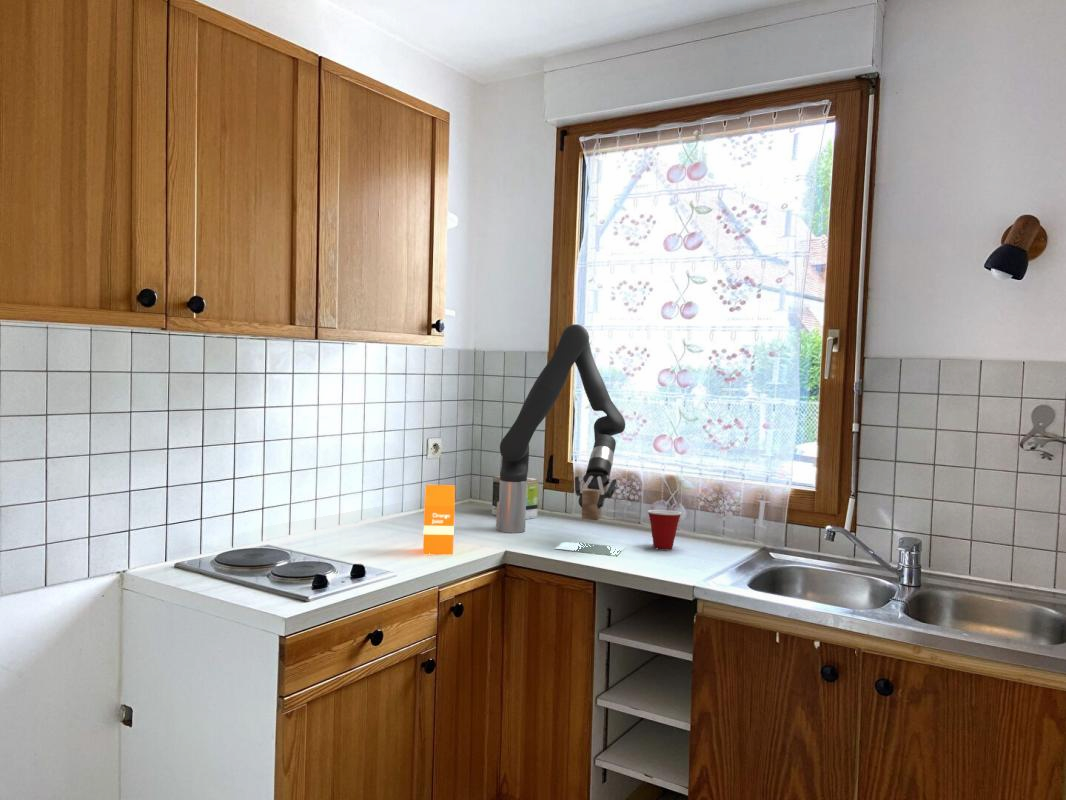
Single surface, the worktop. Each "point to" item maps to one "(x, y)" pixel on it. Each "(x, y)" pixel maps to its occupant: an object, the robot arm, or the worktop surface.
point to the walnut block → (590, 504)
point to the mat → (595, 549)
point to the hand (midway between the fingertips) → (590, 506)
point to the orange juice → (439, 519)
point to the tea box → (530, 496)
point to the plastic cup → (663, 527)
